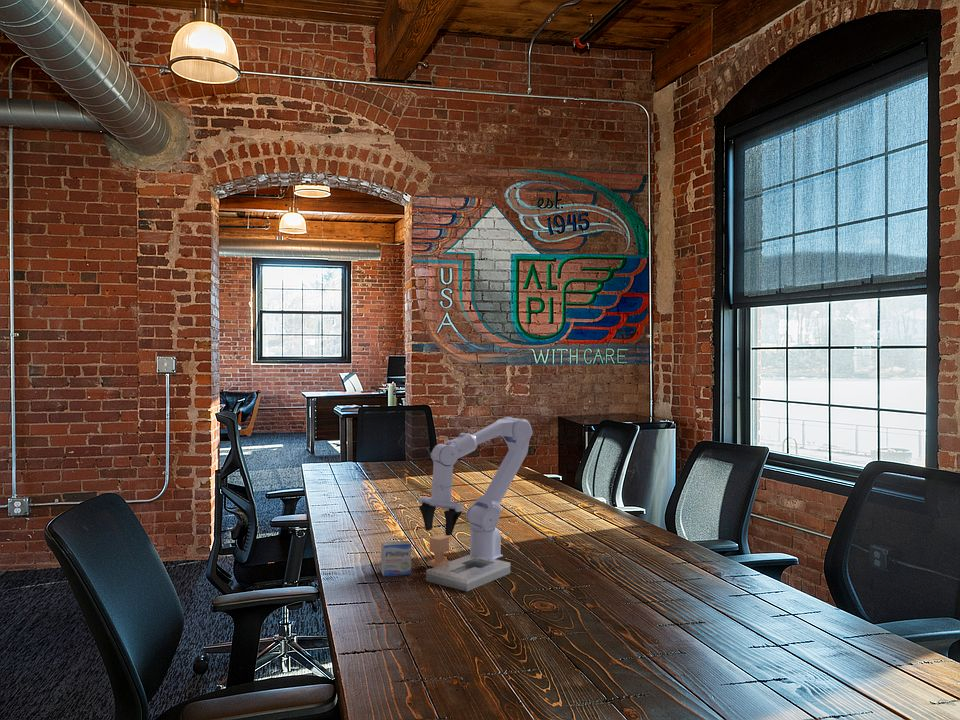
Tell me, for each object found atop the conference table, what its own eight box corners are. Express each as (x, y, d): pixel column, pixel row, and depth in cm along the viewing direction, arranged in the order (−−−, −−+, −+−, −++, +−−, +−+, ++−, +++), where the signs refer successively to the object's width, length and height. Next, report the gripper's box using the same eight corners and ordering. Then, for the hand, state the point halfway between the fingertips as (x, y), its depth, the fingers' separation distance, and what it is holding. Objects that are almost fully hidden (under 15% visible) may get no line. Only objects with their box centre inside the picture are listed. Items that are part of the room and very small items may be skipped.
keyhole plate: (470, 564, 219) (470, 554, 219) (510, 573, 211) (510, 562, 211) (426, 581, 203) (426, 570, 203) (467, 591, 195) (467, 580, 195)
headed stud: (438, 561, 222) (438, 534, 222) (451, 564, 219) (451, 537, 219) (426, 565, 218) (427, 537, 218) (440, 568, 215) (440, 540, 215)
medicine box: (383, 577, 206) (383, 545, 206) (380, 572, 211) (381, 541, 211) (411, 575, 209) (411, 544, 208) (408, 570, 213) (408, 539, 213)
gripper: (414, 483, 219) (410, 529, 219) (452, 490, 211) (449, 539, 210) (429, 481, 225) (426, 526, 225) (468, 488, 216) (464, 535, 216)
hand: (438, 532), depth 218 cm, fingers open, 7 cm apart
